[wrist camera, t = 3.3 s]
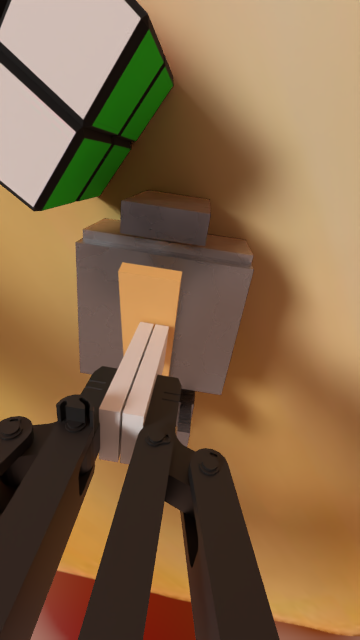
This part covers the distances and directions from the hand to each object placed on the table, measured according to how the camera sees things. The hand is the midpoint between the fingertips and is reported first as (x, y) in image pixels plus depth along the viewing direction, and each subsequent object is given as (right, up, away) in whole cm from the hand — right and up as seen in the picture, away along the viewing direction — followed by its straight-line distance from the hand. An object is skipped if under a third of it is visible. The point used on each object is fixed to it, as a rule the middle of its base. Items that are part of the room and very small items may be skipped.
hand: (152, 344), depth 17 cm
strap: (-1, -1, +4) cm, 5 cm away
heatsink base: (0, +3, +11) cm, 12 cm away
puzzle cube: (-6, +18, +5) cm, 19 cm away
